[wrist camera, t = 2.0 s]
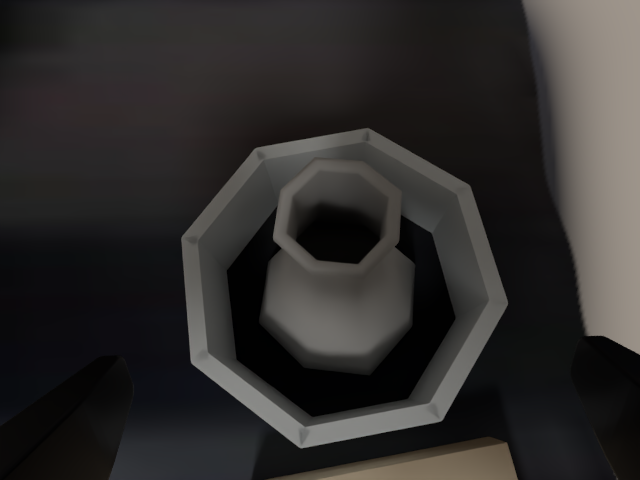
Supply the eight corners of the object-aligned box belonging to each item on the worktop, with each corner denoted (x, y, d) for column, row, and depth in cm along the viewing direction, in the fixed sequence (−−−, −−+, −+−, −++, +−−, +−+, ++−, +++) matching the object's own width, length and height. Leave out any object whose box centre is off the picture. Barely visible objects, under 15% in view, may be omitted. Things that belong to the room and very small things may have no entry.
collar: (492, 398, 18) (540, 402, 14) (231, 448, 18) (199, 467, 14) (425, 166, 22) (447, 114, 18) (207, 205, 22) (175, 162, 17)
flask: (233, 333, 20) (135, 286, 10) (301, 199, 22) (273, 55, 12) (380, 405, 18) (426, 427, 9) (438, 256, 20) (527, 146, 11)
